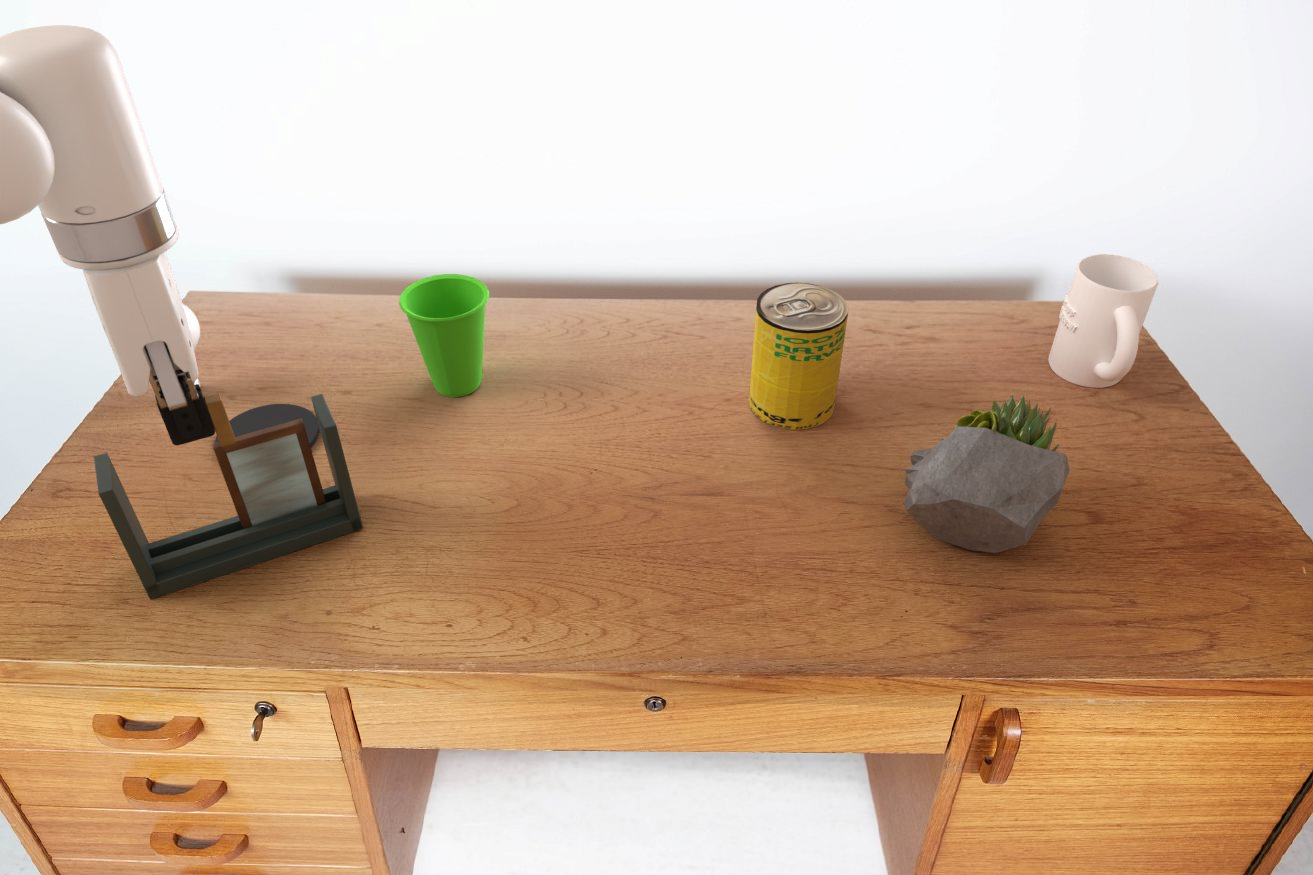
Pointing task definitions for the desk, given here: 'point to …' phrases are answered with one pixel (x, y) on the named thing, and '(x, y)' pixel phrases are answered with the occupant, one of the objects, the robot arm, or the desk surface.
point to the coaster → (274, 420)
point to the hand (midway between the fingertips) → (193, 434)
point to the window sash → (265, 468)
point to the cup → (449, 329)
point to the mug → (1102, 320)
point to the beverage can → (797, 355)
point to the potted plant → (988, 479)
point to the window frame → (231, 526)
